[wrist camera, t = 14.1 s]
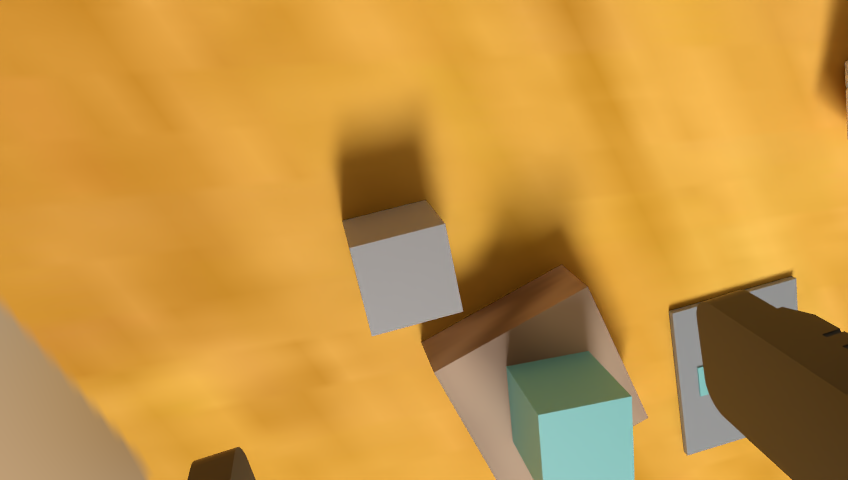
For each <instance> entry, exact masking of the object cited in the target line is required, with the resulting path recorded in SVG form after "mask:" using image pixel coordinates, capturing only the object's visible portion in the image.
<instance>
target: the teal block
mask: <svg viewBox="0 0 848 480" xmlns="http://www.w3.org/2000/svg"><path fill="white" fill-rule="evenodd" d="M506 369H507V381H508V392H509V403H510V414H511V426H512V437H513V443H514V445H515V446H516V448H517V450H518V452H519V454H520V456H521V457H522V459H523V461H524V463H525V465H526V467H527V469H528V470H529V472H530V474H531V476H532V478H533V480H634V452H633V419H632V396H631V395H630V394H629V393H628V392H627V391H626V390H625V389H624V388H623V387H622V386H621V385H620V384H619V382H618V381H617V380H616V379H615V378H614V377H613V376H612V375H611V374H610V373H609V372H608V371H607V370H606V369H605V368H604V367H603V366H602V365H601V364H600V363H599V362H598V360H597V359H596V358H595V357H594V356H593V355H592V354H591V353H590V352H589V351H585V352H580V353H575V354H569V355H564V356H559V357H554V358H548V359H543V360H538V361H532V362H527V363H522V364H517V365H512V366H506Z"/></svg>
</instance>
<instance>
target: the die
mask: <svg viewBox="0 0 848 480" xmlns="http://www.w3.org/2000/svg"><path fill="white" fill-rule="evenodd" d="M845 81H846V89H847V90H846V110H847V138H848V61H846V62H845Z"/></svg>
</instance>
